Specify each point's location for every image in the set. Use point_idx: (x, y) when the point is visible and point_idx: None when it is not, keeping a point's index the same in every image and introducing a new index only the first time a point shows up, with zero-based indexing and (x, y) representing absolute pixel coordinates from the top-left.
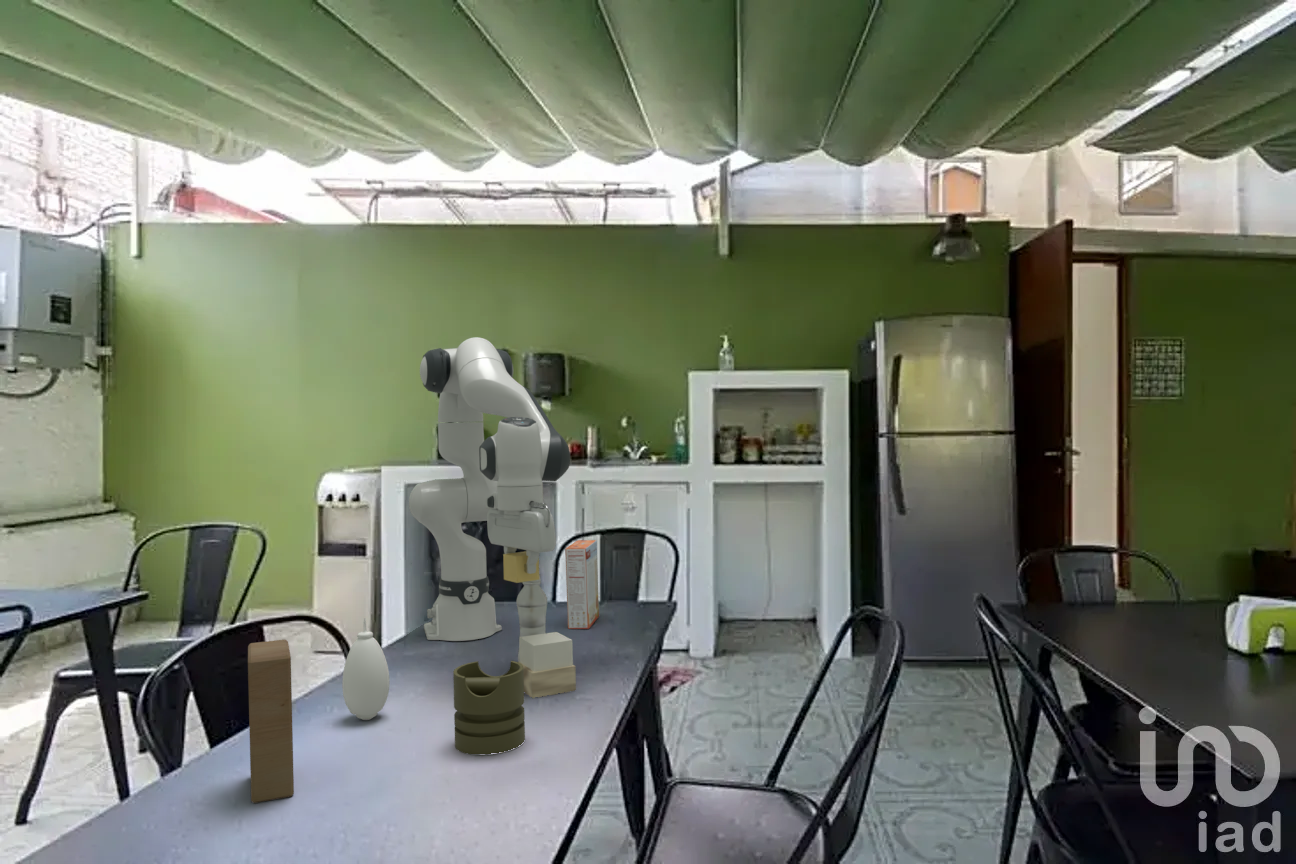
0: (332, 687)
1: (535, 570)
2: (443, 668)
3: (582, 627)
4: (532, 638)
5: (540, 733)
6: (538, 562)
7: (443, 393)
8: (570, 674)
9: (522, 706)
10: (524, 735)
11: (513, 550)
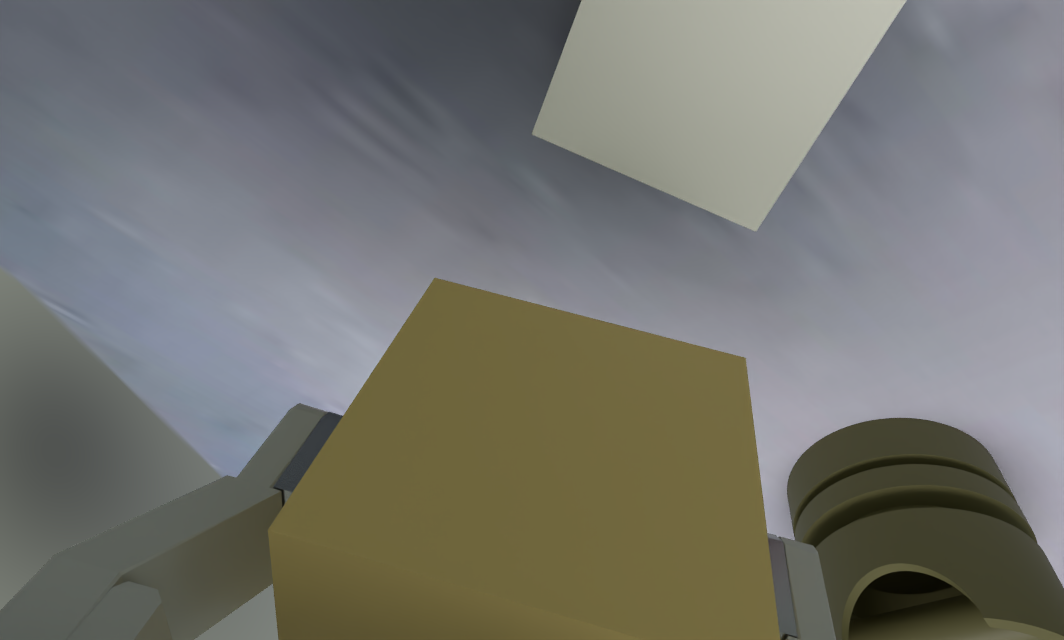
0: (156, 395)
1: (817, 568)
2: (133, 84)
3: None
4: (628, 113)
5: (1007, 397)
6: (761, 535)
7: None
8: None
9: (994, 499)
10: (998, 468)
11: (169, 637)
